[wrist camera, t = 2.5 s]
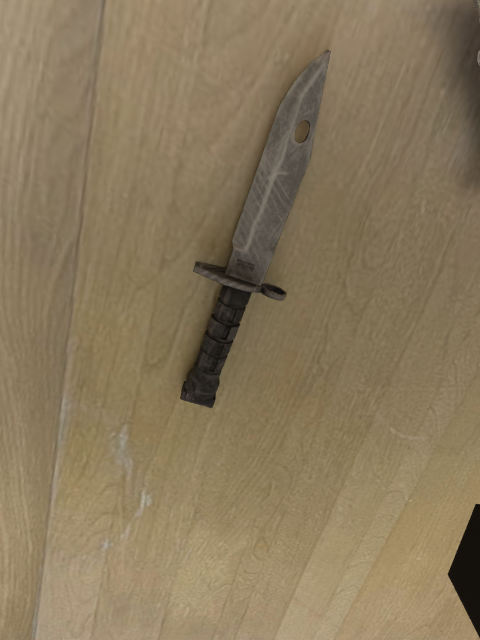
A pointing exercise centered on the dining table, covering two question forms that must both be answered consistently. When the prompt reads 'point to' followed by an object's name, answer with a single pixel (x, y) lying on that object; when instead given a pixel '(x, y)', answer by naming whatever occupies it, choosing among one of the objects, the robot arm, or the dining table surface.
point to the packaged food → (479, 4)
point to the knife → (258, 229)
